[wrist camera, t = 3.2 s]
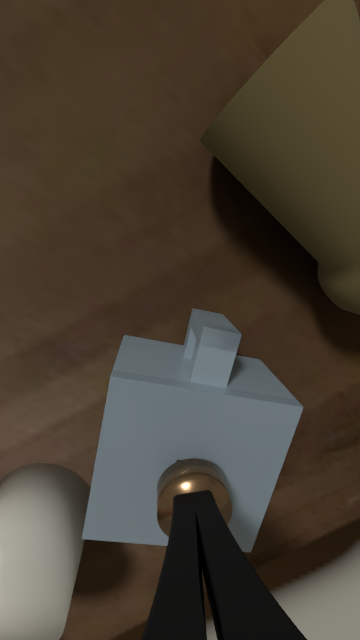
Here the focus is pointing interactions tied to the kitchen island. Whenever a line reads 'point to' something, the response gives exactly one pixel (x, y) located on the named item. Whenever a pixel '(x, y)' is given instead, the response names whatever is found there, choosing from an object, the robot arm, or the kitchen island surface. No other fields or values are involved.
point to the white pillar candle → (39, 549)
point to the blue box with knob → (188, 430)
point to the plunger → (190, 488)
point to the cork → (305, 142)
